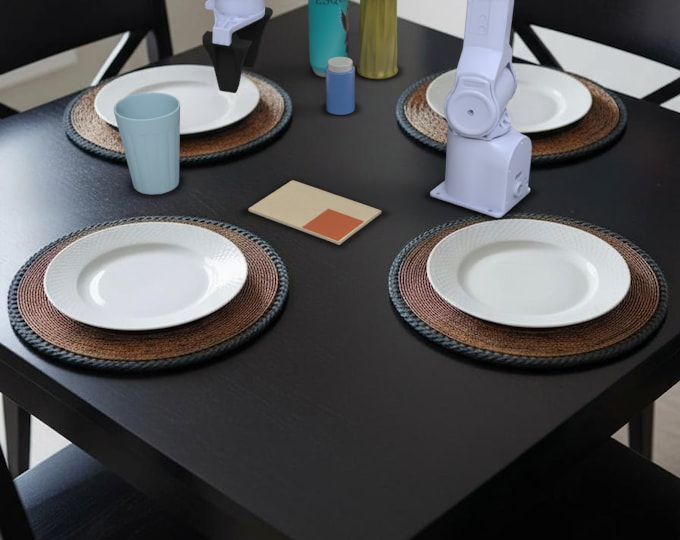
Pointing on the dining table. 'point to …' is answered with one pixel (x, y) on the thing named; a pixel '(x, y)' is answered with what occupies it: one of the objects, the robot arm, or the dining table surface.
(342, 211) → the place mat
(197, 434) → the dining table surface
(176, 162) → the cup
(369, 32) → the vase
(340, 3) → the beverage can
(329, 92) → the salt shaker
